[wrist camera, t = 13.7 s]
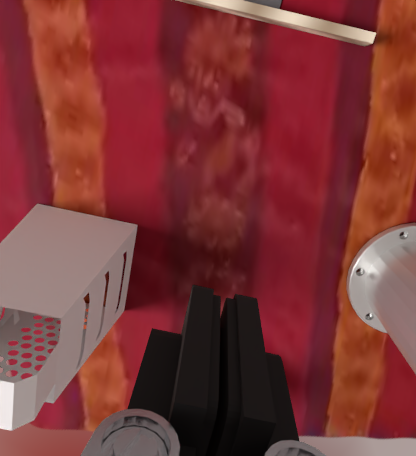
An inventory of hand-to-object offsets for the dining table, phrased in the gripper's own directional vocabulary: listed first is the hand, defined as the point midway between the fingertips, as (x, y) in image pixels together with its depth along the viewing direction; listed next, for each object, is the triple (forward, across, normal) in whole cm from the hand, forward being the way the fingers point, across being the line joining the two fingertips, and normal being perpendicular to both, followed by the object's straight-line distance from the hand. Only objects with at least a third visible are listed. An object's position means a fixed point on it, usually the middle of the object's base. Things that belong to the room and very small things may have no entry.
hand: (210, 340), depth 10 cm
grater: (+29, +12, +14) cm, 35 cm away
